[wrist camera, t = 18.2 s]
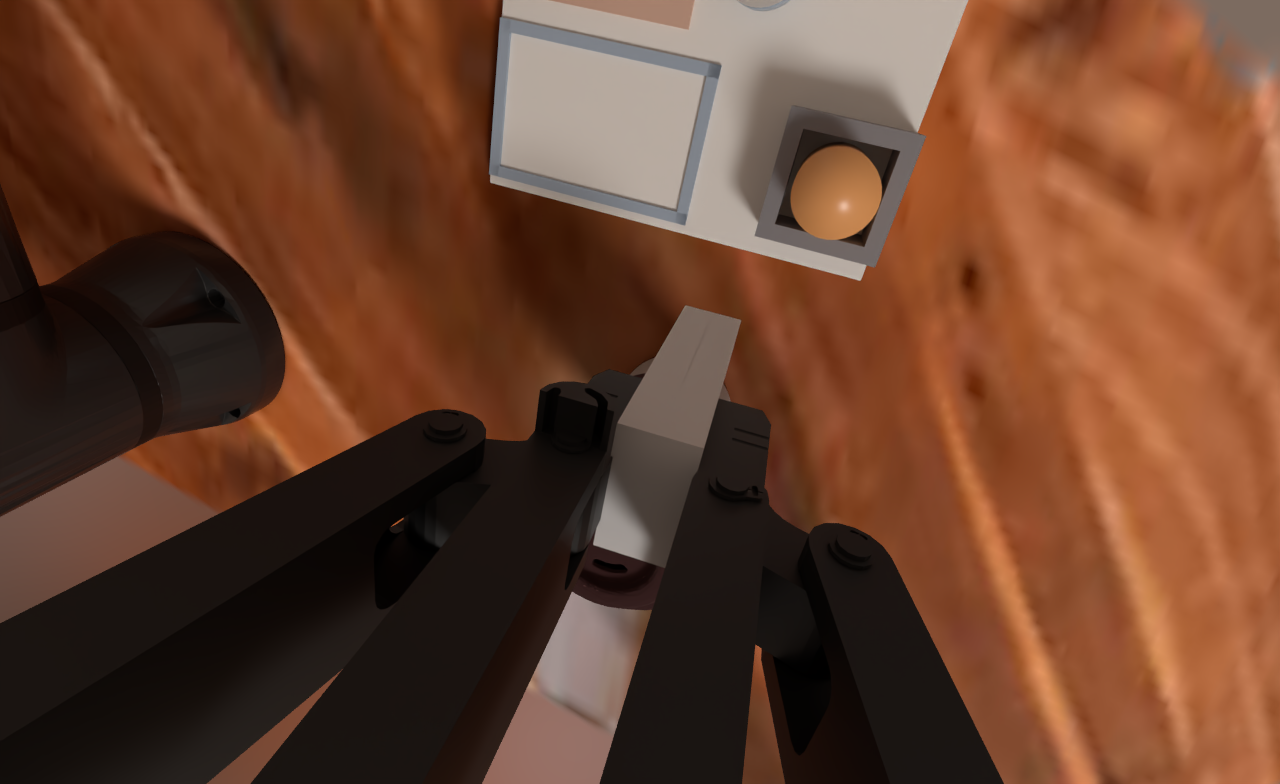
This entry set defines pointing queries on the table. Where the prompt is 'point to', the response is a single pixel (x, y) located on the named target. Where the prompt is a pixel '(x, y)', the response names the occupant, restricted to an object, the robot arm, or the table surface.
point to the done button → (835, 191)
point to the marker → (763, 4)
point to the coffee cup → (621, 565)
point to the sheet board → (715, 110)
